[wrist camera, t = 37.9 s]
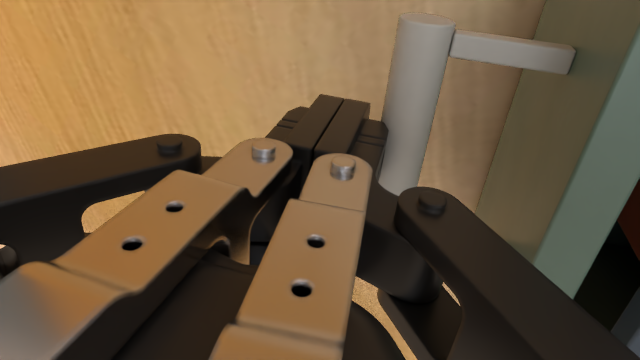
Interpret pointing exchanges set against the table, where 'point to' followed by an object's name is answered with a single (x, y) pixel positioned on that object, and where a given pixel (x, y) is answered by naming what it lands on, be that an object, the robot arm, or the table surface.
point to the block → (632, 219)
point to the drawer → (541, 138)
